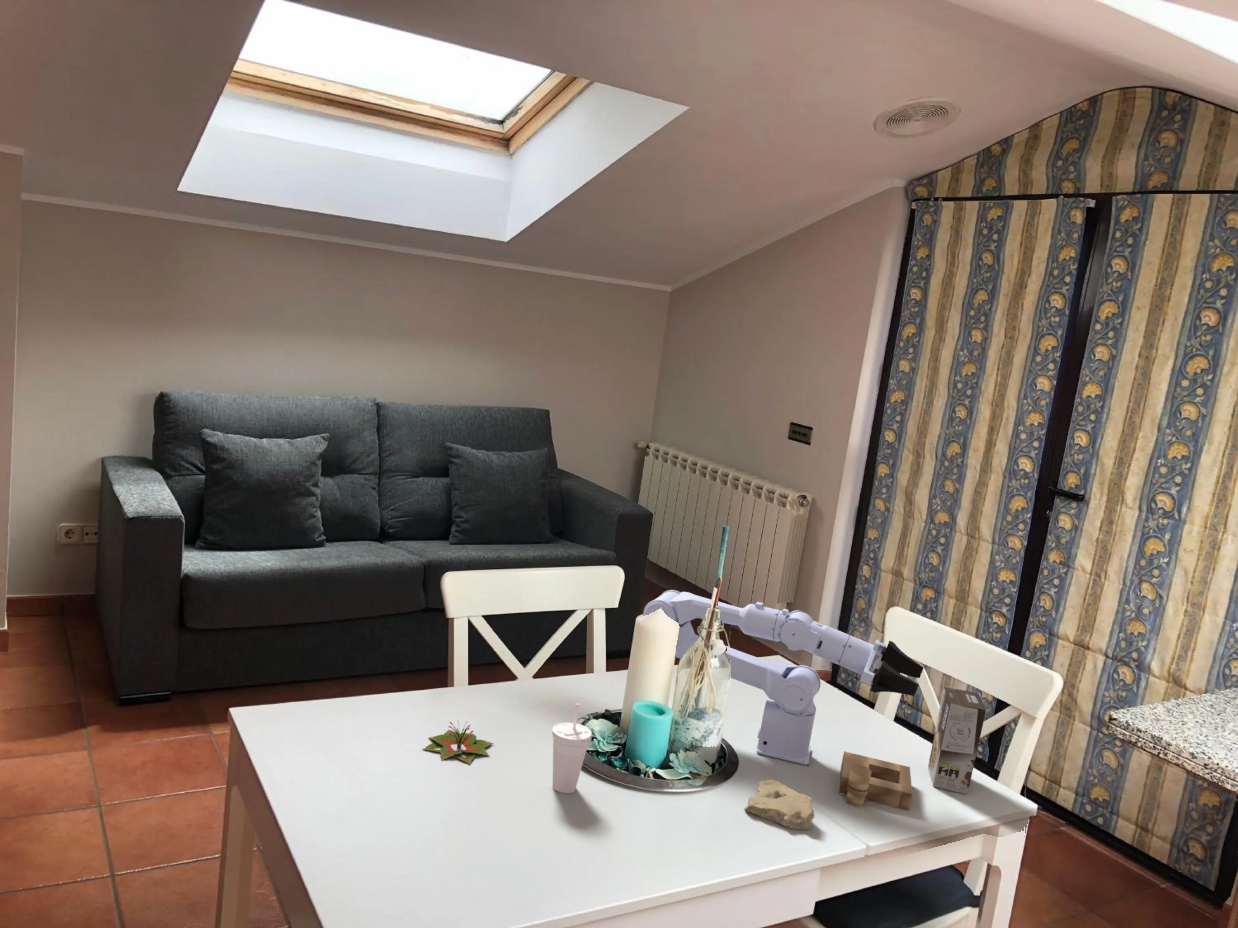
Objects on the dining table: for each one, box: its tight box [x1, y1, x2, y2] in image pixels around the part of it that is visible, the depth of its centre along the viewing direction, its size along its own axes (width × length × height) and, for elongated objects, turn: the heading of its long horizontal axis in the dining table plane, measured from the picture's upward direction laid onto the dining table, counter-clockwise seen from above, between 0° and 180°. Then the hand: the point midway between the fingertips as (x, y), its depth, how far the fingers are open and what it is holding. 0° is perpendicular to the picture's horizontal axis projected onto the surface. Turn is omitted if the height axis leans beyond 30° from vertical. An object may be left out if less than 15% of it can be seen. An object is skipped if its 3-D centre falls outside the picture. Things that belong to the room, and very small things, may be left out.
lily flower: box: [421, 719, 495, 765], centre depth 164 cm, size 12×12×5 cm
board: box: [838, 751, 913, 811], centre depth 172 cm, size 12×11×3 cm
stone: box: [743, 779, 815, 831], centre depth 158 cm, size 13×4×10 cm
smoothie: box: [551, 702, 593, 794], centre depth 155 cm, size 6×6×14 cm
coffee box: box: [927, 686, 987, 795], centre depth 179 cm, size 9×6×16 cm
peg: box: [845, 765, 871, 808], centre depth 165 cm, size 4×4×6 cm
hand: (919, 681), depth 172 cm, fingers open, 7 cm apart
